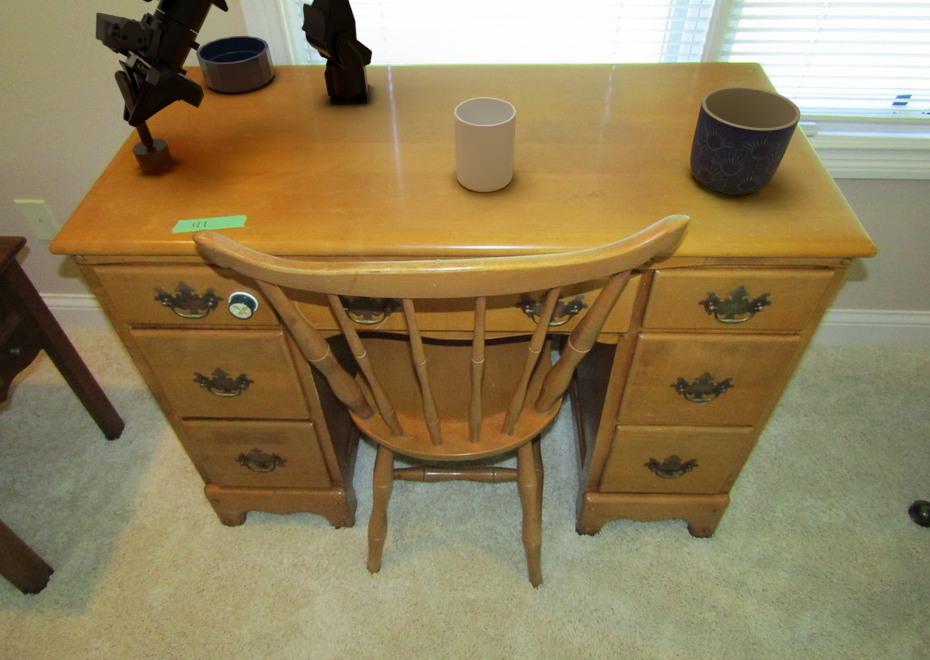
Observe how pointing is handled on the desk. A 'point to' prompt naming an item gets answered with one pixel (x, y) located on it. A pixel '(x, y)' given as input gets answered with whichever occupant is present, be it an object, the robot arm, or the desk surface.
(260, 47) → the bowl
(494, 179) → the mug
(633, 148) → the desk surface
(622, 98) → the desk surface
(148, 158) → the brown plunger
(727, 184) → the planter
